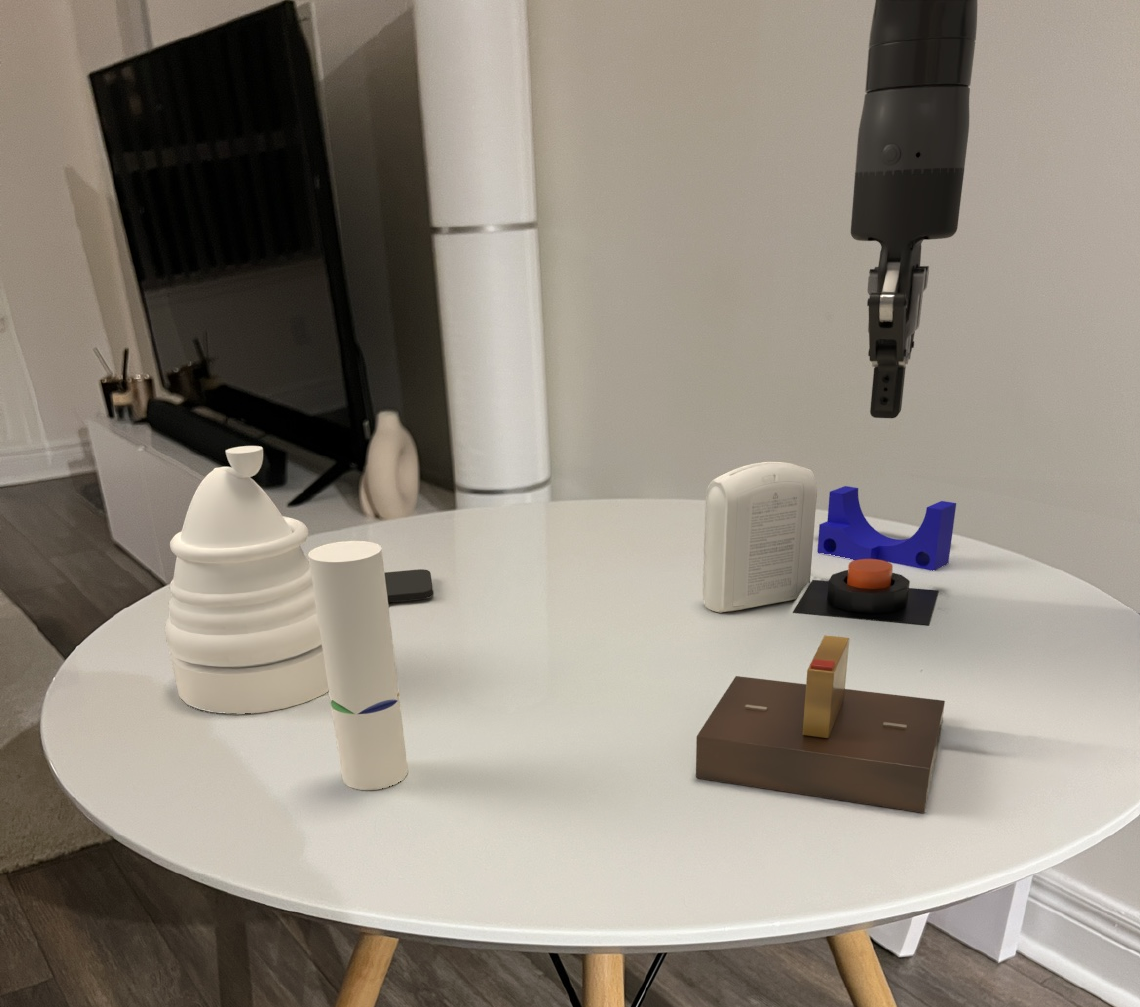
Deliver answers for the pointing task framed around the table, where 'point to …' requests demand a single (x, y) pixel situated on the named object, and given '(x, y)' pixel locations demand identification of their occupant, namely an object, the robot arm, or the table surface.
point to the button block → (868, 601)
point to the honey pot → (242, 599)
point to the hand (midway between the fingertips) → (885, 416)
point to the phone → (408, 585)
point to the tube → (359, 662)
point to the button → (869, 573)
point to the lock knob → (825, 686)
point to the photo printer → (758, 535)
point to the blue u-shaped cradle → (861, 541)
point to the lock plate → (823, 744)
